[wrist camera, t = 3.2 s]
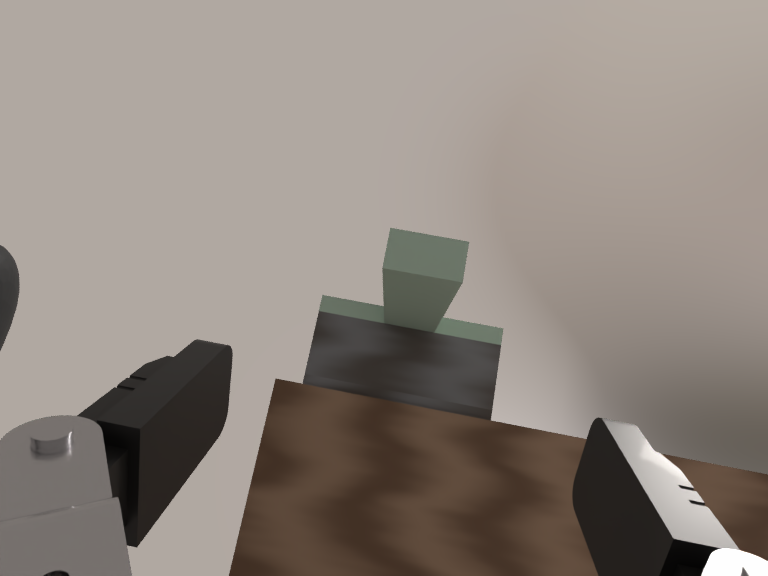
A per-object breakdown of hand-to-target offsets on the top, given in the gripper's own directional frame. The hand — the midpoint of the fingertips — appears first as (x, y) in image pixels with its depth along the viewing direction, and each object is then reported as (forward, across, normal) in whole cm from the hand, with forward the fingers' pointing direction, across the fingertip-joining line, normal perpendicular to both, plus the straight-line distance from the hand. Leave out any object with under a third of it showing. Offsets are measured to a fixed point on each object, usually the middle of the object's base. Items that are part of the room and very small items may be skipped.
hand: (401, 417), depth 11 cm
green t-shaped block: (+18, 0, +5) cm, 19 cm away
